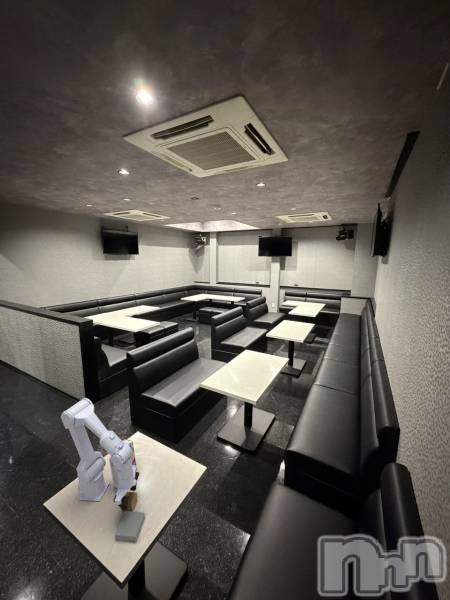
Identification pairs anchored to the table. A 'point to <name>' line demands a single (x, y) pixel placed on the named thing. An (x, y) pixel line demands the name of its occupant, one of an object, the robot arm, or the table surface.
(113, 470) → the candy bar box
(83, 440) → the robot arm
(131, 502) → the walnut block
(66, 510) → the table surface
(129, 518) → the slate coaster
